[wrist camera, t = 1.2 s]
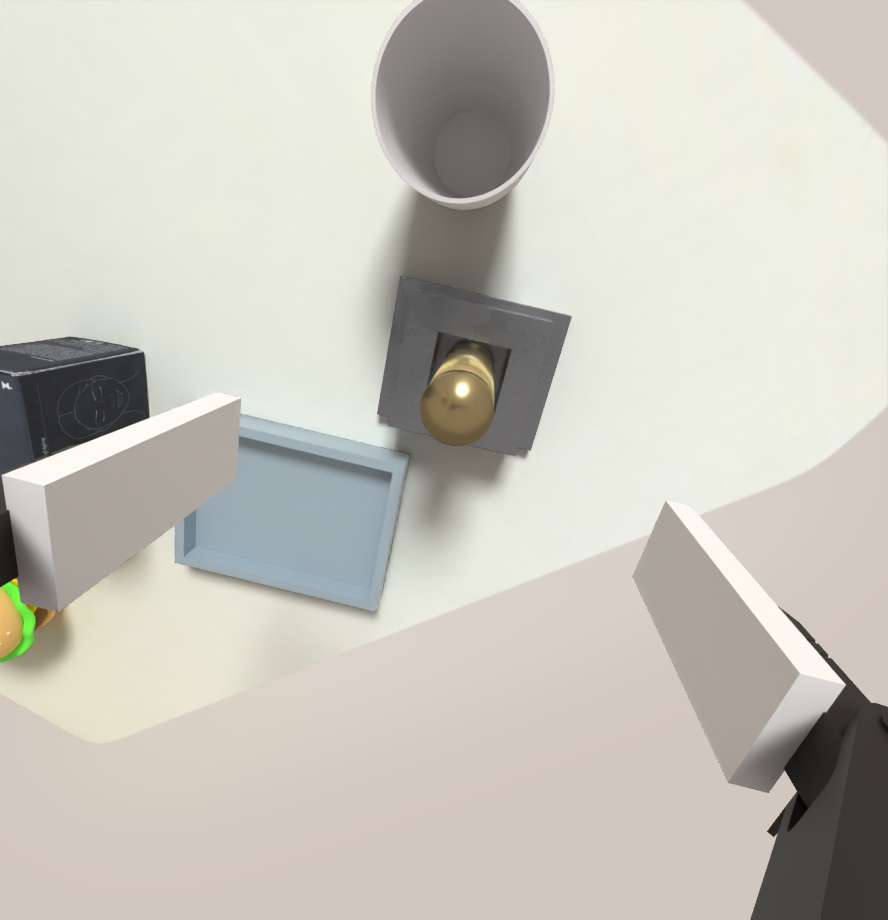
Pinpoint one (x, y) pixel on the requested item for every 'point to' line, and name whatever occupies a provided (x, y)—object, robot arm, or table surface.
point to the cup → (462, 98)
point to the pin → (460, 396)
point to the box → (66, 395)
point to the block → (482, 322)
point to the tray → (301, 515)
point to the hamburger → (18, 622)
